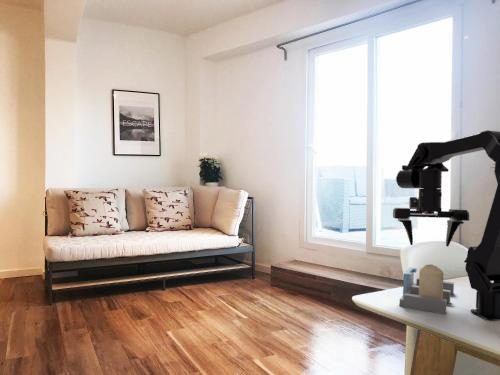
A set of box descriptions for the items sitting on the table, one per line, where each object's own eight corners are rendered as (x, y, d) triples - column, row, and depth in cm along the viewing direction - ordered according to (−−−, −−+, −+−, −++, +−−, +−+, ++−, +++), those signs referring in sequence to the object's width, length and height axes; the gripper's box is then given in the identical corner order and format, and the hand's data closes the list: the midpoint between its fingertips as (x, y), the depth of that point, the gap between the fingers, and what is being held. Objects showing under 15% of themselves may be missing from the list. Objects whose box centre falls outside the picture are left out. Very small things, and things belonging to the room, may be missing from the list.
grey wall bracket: (445, 314, 100) (446, 288, 100) (394, 305, 106) (395, 281, 106) (453, 293, 119) (454, 271, 119) (410, 287, 125) (410, 266, 125)
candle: (446, 308, 105) (447, 268, 104) (423, 308, 105) (424, 267, 105) (436, 302, 110) (438, 263, 110) (415, 301, 110) (416, 262, 110)
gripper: (459, 189, 123) (458, 243, 123) (391, 188, 127) (390, 240, 127) (470, 189, 113) (469, 248, 113) (395, 188, 117) (394, 245, 117)
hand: (429, 245), depth 118 cm, fingers open, 9 cm apart
